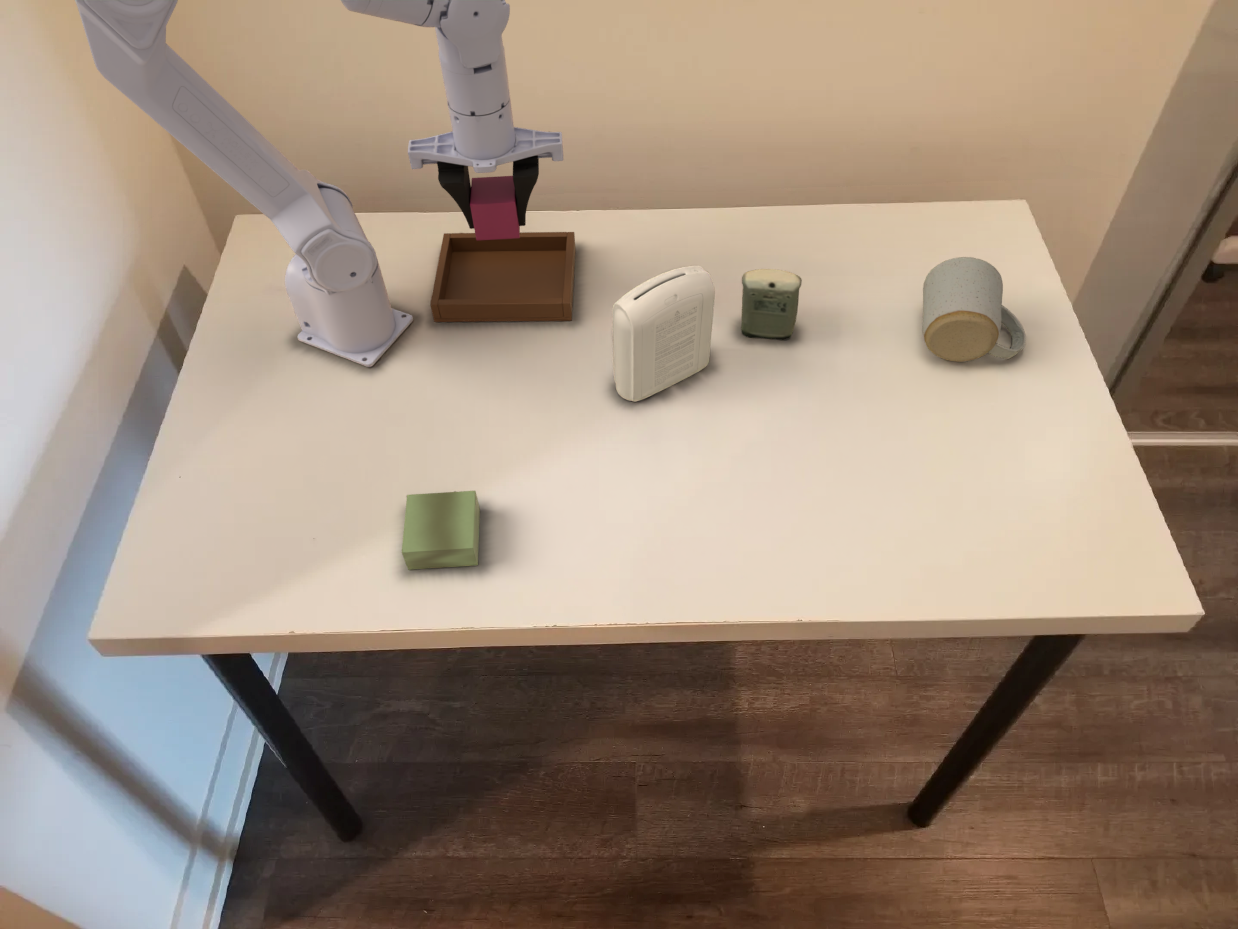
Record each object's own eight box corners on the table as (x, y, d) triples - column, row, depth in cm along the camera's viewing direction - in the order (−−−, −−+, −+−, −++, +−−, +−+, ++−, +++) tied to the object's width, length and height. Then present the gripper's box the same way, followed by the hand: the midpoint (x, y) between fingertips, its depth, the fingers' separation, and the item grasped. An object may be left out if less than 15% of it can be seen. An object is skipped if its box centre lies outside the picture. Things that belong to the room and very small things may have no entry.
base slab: (408, 570, 80) (401, 552, 78) (413, 512, 84) (406, 494, 82) (477, 565, 80) (473, 548, 78) (479, 508, 84) (475, 490, 82)
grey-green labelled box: (751, 357, 95) (759, 298, 88) (727, 324, 98) (733, 265, 91) (800, 340, 96) (811, 280, 90) (774, 308, 99) (783, 248, 93)
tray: (434, 322, 99) (429, 304, 97) (447, 250, 106) (443, 232, 104) (571, 320, 98) (570, 303, 96) (575, 249, 106) (574, 231, 104)
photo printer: (690, 341, 96) (695, 246, 86) (715, 366, 94) (724, 271, 84) (607, 383, 93) (602, 289, 83) (631, 410, 91) (629, 316, 81)
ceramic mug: (913, 362, 94) (934, 305, 88) (914, 306, 99) (934, 249, 92) (1022, 377, 92) (1051, 320, 86) (1018, 320, 97) (1044, 263, 91)
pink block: (476, 240, 94) (469, 204, 91) (477, 213, 97) (471, 177, 93) (519, 238, 94) (515, 202, 91) (520, 211, 97) (515, 175, 94)
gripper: (394, 128, 82) (423, 250, 93) (559, 119, 82) (569, 242, 93) (401, 84, 86) (428, 206, 97) (557, 76, 86) (567, 198, 97)
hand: (497, 221), depth 95 cm, fingers closed on pink block, 4 cm apart
